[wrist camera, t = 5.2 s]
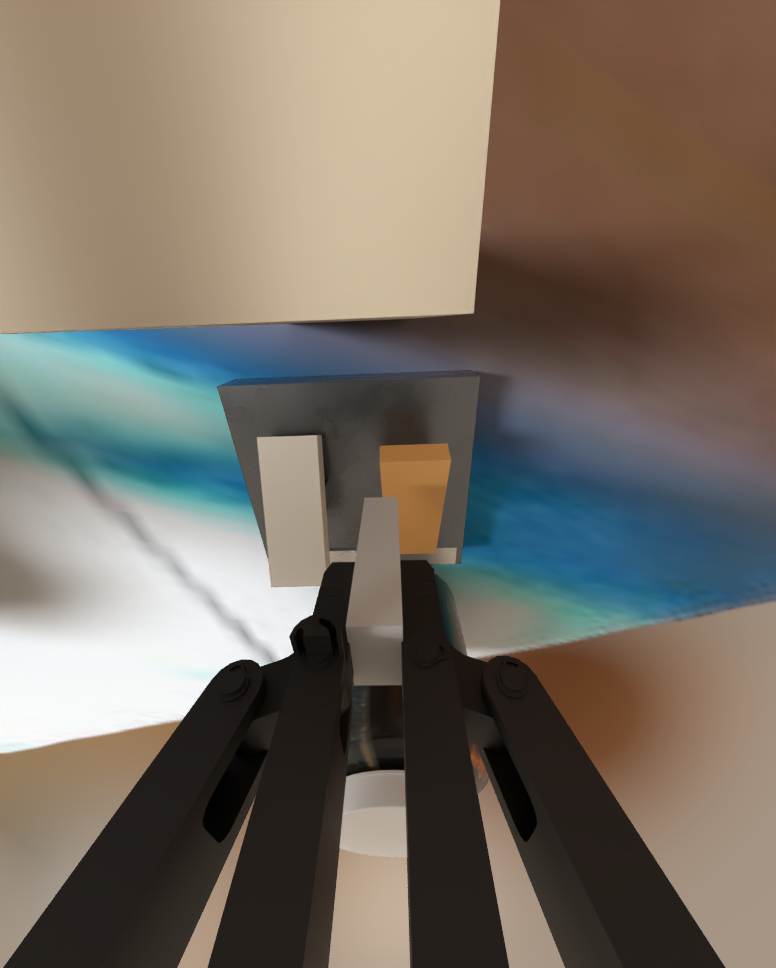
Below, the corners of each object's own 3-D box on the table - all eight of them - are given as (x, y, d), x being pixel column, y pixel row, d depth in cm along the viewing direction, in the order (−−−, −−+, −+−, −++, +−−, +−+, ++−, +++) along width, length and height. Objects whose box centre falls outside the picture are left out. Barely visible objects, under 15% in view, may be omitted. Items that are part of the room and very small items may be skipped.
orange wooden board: (386, 539, 22) (386, 554, 21) (379, 445, 15) (379, 462, 14) (433, 538, 22) (435, 553, 21) (447, 443, 15) (451, 460, 14)
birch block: (288, 323, 18) (-74, 335, 4) (273, 238, 16) (-538, -339, 2) (406, 318, 18) (473, 313, 4) (405, 232, 16) (537, -439, 2)
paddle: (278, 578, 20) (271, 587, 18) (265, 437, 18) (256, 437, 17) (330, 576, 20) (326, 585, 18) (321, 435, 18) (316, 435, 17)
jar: (447, 551, 26) (507, 784, 13) (458, 636, 32) (508, 861, 19) (317, 570, 27) (250, 803, 14) (349, 649, 33) (323, 870, 20)
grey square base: (280, 548, 26) (265, 580, 23) (235, 379, 19) (205, 390, 16) (455, 543, 26) (464, 575, 23) (470, 370, 19) (486, 380, 16)
